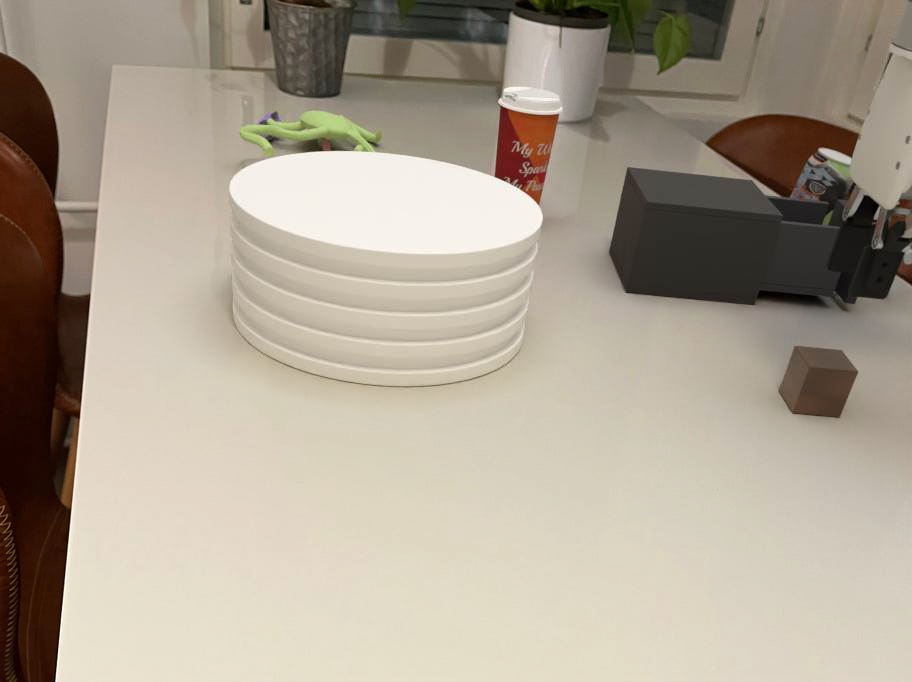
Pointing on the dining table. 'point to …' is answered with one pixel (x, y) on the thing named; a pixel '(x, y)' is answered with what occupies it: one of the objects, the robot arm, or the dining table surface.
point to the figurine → (309, 131)
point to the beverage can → (824, 179)
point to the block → (817, 381)
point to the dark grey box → (693, 236)
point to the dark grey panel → (807, 250)
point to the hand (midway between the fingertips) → (855, 281)
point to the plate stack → (381, 266)
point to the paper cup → (526, 137)
